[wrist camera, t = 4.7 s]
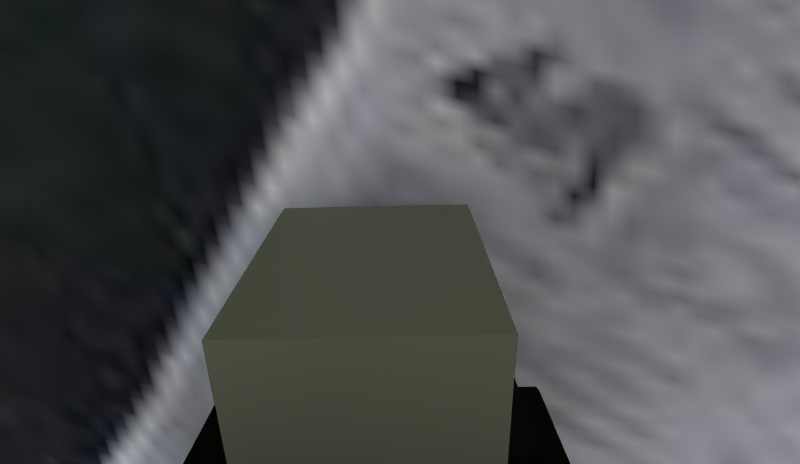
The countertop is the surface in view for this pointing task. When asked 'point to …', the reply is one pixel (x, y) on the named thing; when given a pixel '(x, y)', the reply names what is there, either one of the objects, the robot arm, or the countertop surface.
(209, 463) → the robot arm
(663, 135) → the countertop surface
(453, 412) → the sage brick
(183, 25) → the countertop surface
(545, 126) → the countertop surface
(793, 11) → the countertop surface
